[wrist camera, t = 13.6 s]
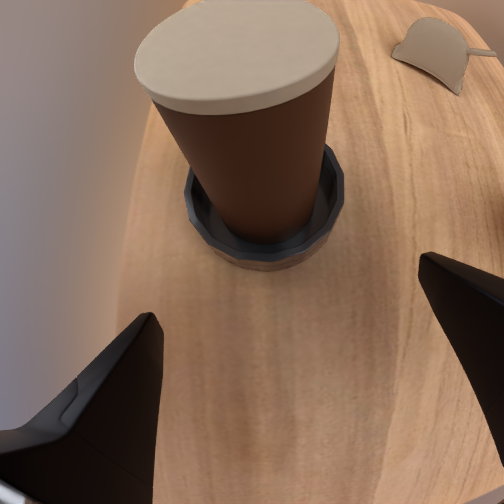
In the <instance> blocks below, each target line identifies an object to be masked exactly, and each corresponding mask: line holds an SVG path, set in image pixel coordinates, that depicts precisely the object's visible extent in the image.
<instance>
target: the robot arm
mask: <svg viewBox="0 0 504 504" xmlns="http://www.w3.org/2000/svg"><path fill="white" fill-rule="evenodd" d="M418 279H419V282H420V284H421V286H422V288H423V290H424V292H425V294H426V297H427V299H428V301H429V303H430V305H431V308H432V310H433V312H434V314H435V316H436V318H437V320H438V322H439V323H440V325H441V327H442V329H443V331H444V332H445V334H446V336H447V338H448V340H449V342H450V343H451V345H452V347H453V349H454V351H455V353H456V355H457V357H458V359H459V361H460V363H461V365H462V367H463V369H464V371H465V373H466V375H467V377H468V379H469V381H470V384H471V386H472V388H473V390H474V392H475V394H476V397H477V399H478V401H479V404H480V406H481V408H482V411H483V413H484V415H485V418H486V421H487V423H488V426H489V429H490V431H491V434H492V437H493V439H494V442H495V445H496V448H497V451H498V454H499V457H500V460H501V463H502V465H503V467H504V279H503V278H500V277H498V276H495V275H493V274H490V273H488V272H485V271H483V270H480V269H477V268H475V267H472V266H470V265H467V264H464V263H462V262H459V261H456V260H454V259H451V258H448V257H446V256H443V255H440V254H437V253H434V252H427V253H423V254H421V256H420V260H419V270H418ZM163 351H164V333H163V330H162V328H161V326H160V324H159V322H158V320H157V318H156V316H155V315H154V313H152V312H147V313H142V314H140V315H139V316H138V317H137V318H136V319H135V320H134V321H133V322H132V323H131V324H130V325H129V326H127V327H126V328H125V329H124V330H123V331H122V332H121V333H120V334H119V335H118V336H117V337H116V338H115V339H114V340H113V341H112V342H111V343H110V344H109V345H108V346H107V347H106V348H105V349H104V350H103V351H102V352H101V353H100V354H99V355H98V356H97V357H96V358H95V359H94V360H93V361H92V362H91V363H90V364H89V365H88V366H87V367H86V368H85V369H84V370H83V371H82V372H81V373H80V374H79V375H78V376H77V378H75V379H74V380H73V381H72V382H71V383H70V384H69V385H68V386H67V387H66V388H65V389H64V390H63V391H62V392H61V393H60V394H59V395H58V396H57V397H56V398H54V399H53V400H52V401H51V402H50V403H49V404H48V405H47V406H46V407H44V408H43V409H42V410H41V411H40V412H39V413H38V414H37V415H35V416H34V417H33V418H32V419H31V420H30V421H29V422H27V423H26V424H25V425H23V426H22V427H19V428H16V429H12V430H3V431H0V504H152V502H153V488H152V487H153V477H154V461H155V447H156V435H157V425H158V414H159V405H160V396H161V388H162V379H163ZM498 504H504V500H502V501H501V502H499V503H498Z"/></svg>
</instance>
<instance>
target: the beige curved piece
mask: <svg viewBox="0 0 504 504" xmlns="http://www.w3.org/2000/svg"><path fill="white" fill-rule="evenodd" d="M469 55H476V56H488V57H496V55H497V54H496V52H494V51H490V50H483V49H473V48H469V46H468V43H467V41H466V40H465V38H464V36H463V35H462V34H461V33H460V32H459V31H458V30H457V29H456V28H455V27H453V26H451V25H450V24H448V23H446V22H444V21H442V20H439V19H436V18H432V17H425V18H421V19H419V20H417V21H416V22H414V23H413V24H412V25H411V26H410V28H409V30H408V32H407V34H406V36H405V38H404V40H403V41H402V42H401V43H399V44H397V45H396V47H395V48H394V51H393V53H392V57H393V58H395V59H398V60H401V61H404V62H407V63H410V64H412V65H414V66H416V67H419V68H421V69H423V70H425V71H427V72H428V73H430V74H432V75H433V76H435V77H436V78H438V79H439V80H440V81H442V82H443V83H444V84H445V85H446V86H448V87H449V88H450V89H451V90H452V91H453V92H454V93H455V94H457V95H458V96H459V94H460V92H461V89H462V86H463V75H464V72H465V70H466V67H467V65H468V61H469Z"/></svg>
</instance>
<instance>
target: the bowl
mask: <svg viewBox="0 0 504 504" xmlns="http://www.w3.org/2000/svg"><path fill="white" fill-rule="evenodd" d="M184 196H185V201H186V206H187V211H188V215H189V220H190V222H191V223H192V224H193V226H194V227H195V228H196V229H197V231H198V232H199V233H200V235H201V236H202V237H203V239H204V240H205V241H206V243H207V244H208V245H209V246H210V247H211V248H212V249H213V250H214V251H215V253H217V254H218V255H220V256H221V257H223V258H224V259H226V260H227V261H229V262H231V263H233V264H235V265H237V266H239V267H242V268H246V269H249V270H255V271H277V270H282V269H286V268H290V267H292V266H295V265H298V264H300V263H301V262H303V261H305V260H307V259H308V258H310V257H311V256H312V255H314V254H315V253H316V252H317V251H318V250H319V249H320V248H321V247H322V246H323V245H324V244H325V243H326V242H327V240H328V238H329V236H330V234H331V232H332V229H333V227H334V225H335V223H336V221H337V219H338V217H339V214H340V212H341V209H342V207H343V204H344V173H343V171H342V169H341V167H340V165H339V163H338V161H337V159H336V157H335V155H334V153H333V151H332V149H331V148H330V147H329V146H328V145H327V144H326V143H325V146H324V153H323V159H322V165H321V171H320V177H319V183H318V189H317V195H316V200H315V206H314V210H313V213H312V216H311V218H310V220H309V221H308V223H307V224H306V226H305V227H304V228H303V229H302V230H301V231H300V232H299V233H297V234H296V235H295V236H293V237H291V238H290V239H288V240H285V241H283V242H279V243H275V244H254V243H251V242H247V241H245V240H243V239H241V238H239V237H237V236H236V235H235V234H233V233H232V232H231V231H230V230H229V229H228V228H227V227H226V225H225V224H224V222H223V221H222V219H221V217H220V216H219V214H218V212H217V210H216V209H215V207H214V205H213V204H212V202H211V200H210V199H209V197H208V195H207V194H206V192H205V190H204V188H203V187H202V185H201V183H200V182H199V180H198V178H197V177H196V175H195V173H194V171H193V170H192V168H191V166H190V168H189V173H188V177H187V181H186V186H185V190H184Z"/></svg>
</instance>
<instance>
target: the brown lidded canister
mask: <svg viewBox="0 0 504 504" xmlns="http://www.w3.org/2000/svg"><path fill="white" fill-rule="evenodd" d="M339 44H340V35H339V31H338V28H337V26H336V24H335V23H334V21H333V20H332V19H331V18H330V16H329V15H328V14H326V13H325V12H324V11H323V10H321V9H320V8H318V7H317V6H315V5H313V4H311V3H309V2H307V1H304V0H204V1H201V2H199V3H196V4H193V5H191V6H189V7H186V8H184V9H182V10H180V11H178V12H177V13H175V14H173V15H171V16H170V17H168V18H167V19H166V20H164V21H163V22H161V23H160V24H159V25H157V26H156V27H155V28H154V29H153V30H152V31H151V32H150V33H149V34H148V36H146V37H145V39H144V40H143V42H142V43H141V45H140V47H139V48H138V50H137V53H136V56H135V62H134V69H135V74H136V76H137V78H138V80H139V82H140V84H141V86H142V87H143V89H144V91H145V92H146V93H147V94H148V96H149V97H150V98H151V99H152V101H153V103H154V104H155V106H156V108H157V110H158V111H159V113H160V115H161V116H162V118H163V120H164V122H165V123H166V125H167V127H168V129H169V130H170V132H171V134H172V135H173V137H174V139H175V141H176V142H177V144H178V146H179V147H180V149H181V151H182V153H183V154H184V156H185V158H186V159H187V161H188V163H189V165H190V166H191V168H192V170H193V171H194V173H195V175H196V177H197V178H198V180H199V182H200V183H201V185H202V187H203V188H204V190H205V192H206V194H207V195H208V197H209V199H210V200H211V202H212V204H213V205H214V207H215V209H216V210H217V212H218V214H219V216H220V217H221V219H222V221H223V222H224V224H225V225H226V227H227V228H228V229H229V230H230V231H231V232H232V233H233V234H235V235H236V236H237V237H239V238H241V239H243V240H245V241H247V242H251V243H254V244H275V243H279V242H283V241H285V240H288V239H290V238H291V237H293V236H295V235H296V234H297V233H299V232H300V231H301V230H302V229H303V228H304V227H305V226H306V224H307V223H308V221H309V220H310V218H311V216H312V213H313V210H314V206H315V200H316V195H317V189H318V183H319V177H320V171H321V165H322V159H323V153H324V146H325V140H326V133H327V126H328V119H329V112H330V105H331V97H332V89H333V81H334V72H335V64H336V62H337V58H338V54H339Z"/></svg>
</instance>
